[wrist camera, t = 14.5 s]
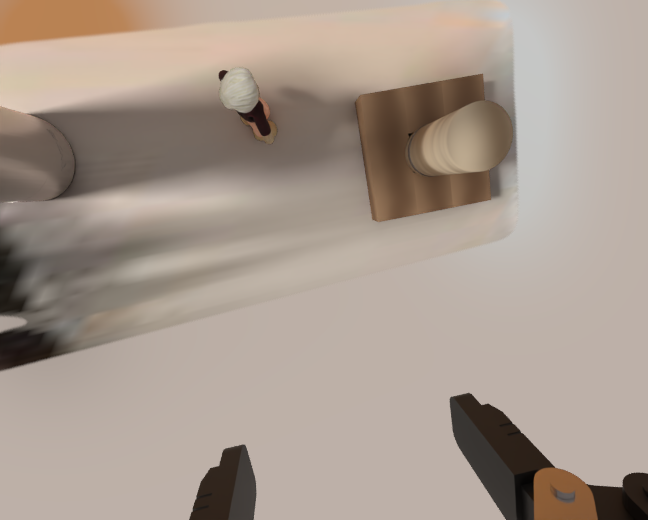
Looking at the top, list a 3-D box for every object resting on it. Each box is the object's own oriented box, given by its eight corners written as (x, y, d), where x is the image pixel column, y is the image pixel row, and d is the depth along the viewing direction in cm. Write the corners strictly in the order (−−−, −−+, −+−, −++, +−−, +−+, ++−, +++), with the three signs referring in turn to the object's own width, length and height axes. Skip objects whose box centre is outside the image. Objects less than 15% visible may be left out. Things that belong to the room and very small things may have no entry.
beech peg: (400, 181, 40) (451, 177, 27) (394, 133, 39) (444, 106, 26) (444, 173, 40) (515, 165, 28) (440, 125, 39) (511, 94, 26)
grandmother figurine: (291, 130, 38) (292, 101, 26) (270, 155, 38) (260, 138, 26) (240, 80, 36) (214, 23, 24) (218, 106, 37) (181, 64, 24)
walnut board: (372, 219, 41) (378, 221, 38) (355, 102, 38) (360, 95, 35) (477, 199, 42) (490, 199, 39) (468, 82, 39) (482, 73, 36)
